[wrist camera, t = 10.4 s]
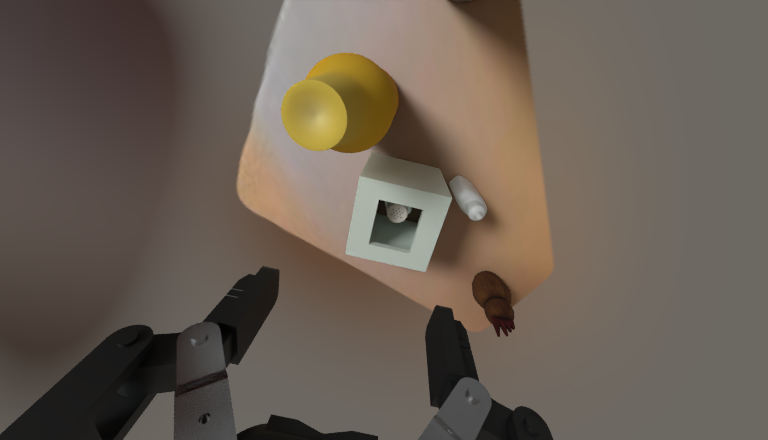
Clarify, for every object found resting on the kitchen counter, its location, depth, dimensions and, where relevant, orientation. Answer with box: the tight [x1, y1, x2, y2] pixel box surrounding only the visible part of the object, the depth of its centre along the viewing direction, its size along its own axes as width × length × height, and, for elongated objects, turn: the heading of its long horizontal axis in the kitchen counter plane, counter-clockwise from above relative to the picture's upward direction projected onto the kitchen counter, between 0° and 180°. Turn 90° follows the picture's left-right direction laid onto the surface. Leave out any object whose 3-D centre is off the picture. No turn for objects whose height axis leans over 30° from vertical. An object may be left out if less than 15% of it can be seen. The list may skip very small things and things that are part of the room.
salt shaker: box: [384, 201, 412, 223], centre depth 45 cm, size 4×4×10 cm
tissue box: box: [345, 152, 452, 272], centre depth 43 cm, size 12×12×14 cm
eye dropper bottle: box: [449, 175, 487, 221], centre depth 43 cm, size 4×6×12 cm
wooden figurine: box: [472, 271, 515, 337], centre depth 49 cm, size 7×6×15 cm
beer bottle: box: [281, 53, 399, 153], centre depth 30 cm, size 9×9×29 cm
